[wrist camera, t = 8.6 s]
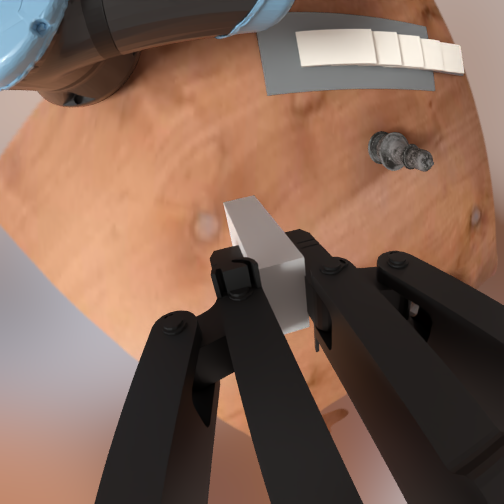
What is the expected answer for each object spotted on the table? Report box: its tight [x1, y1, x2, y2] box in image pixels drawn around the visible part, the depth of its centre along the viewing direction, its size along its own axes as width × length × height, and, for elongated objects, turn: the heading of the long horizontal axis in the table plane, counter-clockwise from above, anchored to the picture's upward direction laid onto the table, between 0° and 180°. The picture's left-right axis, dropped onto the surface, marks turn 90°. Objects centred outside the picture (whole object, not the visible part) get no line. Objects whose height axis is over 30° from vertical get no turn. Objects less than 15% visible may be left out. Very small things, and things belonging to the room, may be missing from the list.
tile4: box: [383, 38, 444, 71], centre depth 34 cm, size 2×5×10 cm
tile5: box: [408, 42, 464, 74], centre depth 34 cm, size 2×5×10 cm
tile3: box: [358, 34, 424, 68], centre depth 33 cm, size 2×5×10 cm
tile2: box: [331, 31, 402, 66], centre depth 33 cm, size 2×5×10 cm
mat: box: [256, 12, 435, 96], centre depth 35 cm, size 30×12×1 cm, turn 99°
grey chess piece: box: [368, 131, 434, 171], centre depth 38 cm, size 6×6×12 cm
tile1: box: [295, 29, 377, 67], centre depth 32 cm, size 2×5×10 cm
